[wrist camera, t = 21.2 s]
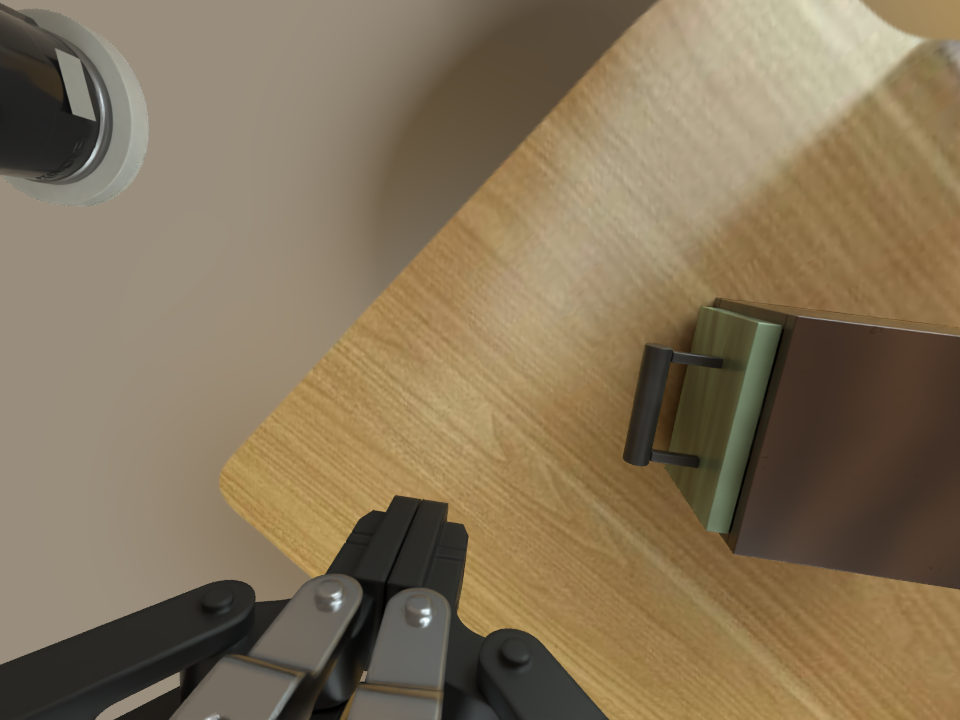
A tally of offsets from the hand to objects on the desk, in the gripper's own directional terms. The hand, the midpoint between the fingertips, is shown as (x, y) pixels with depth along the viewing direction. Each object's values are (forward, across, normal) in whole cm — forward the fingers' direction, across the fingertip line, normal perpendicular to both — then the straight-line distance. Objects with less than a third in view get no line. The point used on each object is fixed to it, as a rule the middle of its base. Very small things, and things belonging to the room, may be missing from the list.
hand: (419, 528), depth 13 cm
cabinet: (+21, -22, 0) cm, 30 cm away
